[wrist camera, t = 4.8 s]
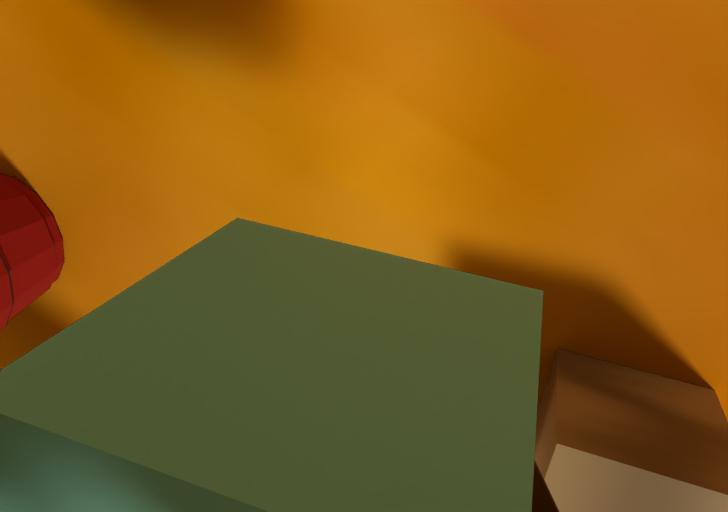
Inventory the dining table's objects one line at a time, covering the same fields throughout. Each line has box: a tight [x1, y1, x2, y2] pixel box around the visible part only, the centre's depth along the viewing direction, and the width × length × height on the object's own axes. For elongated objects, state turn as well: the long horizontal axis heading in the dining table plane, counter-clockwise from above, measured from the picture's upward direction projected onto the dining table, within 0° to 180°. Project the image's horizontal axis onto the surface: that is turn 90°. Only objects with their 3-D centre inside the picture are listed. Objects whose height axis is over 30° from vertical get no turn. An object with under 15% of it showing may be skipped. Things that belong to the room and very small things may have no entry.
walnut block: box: [534, 349, 728, 512], centre depth 18 cm, size 5×5×5 cm
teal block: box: [0, 218, 544, 512], centre depth 8 cm, size 5×5×5 cm
